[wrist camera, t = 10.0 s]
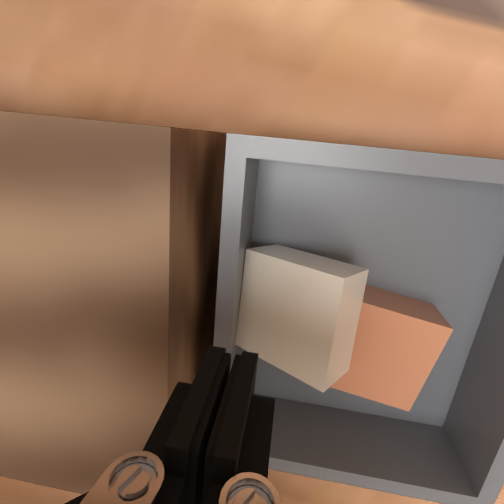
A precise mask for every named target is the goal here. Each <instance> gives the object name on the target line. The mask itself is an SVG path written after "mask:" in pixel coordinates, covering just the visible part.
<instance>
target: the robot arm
mask: <svg viewBox="0 0 504 504" xmlns="http://www.w3.org/2000/svg"><path fill="white" fill-rule="evenodd" d="M257 363H258V353H253V352H247V351H242V354H241V355H238V354H236V355H235V358H234V361H233V364H232V367H231V371H230V364H231V353H226V348H222V347H216V346H209V348H208V350H207V352H206V354H205V356H204V359H203V361H202V363H201V365H200V368H199V370H198V372H197V374H196V376H195V379H194V381H193V383H192V384H190V383H184V382H178V383H177V385H176V386H175V388H174V390H173V392H172V394H171V396H170V398H169V400H168V402H167V404H166V405H165V407H164V409H163V411H162V413H161V415H160V417H159V419H158V421H157V423H156V425H155V427H154V429H153V431H152V433H151V435H150V437H149V439H148V440H147V442H146V444H145V446H144V448H143V450H141V451H132V452H129V453H126V454H124V455H122V456H120V457H119V458H117V459H116V460H114V461H113V462H112V463H111V464H110V466H109V467H108V468H107V469H106V470H105V471H104V473H103V474H102V475H101V477H100V478H99V479H98V481H97V482H96V483H95V484H94V486H93V487H92V488H91V490H90V491H89V492H87V493H85V494H83V495H81V496H79V497H77V498H75V499H73V500H71V501H69V502H67V503H65V504H281V501H280V496H279V493H278V491H277V490H276V488H275V486H274V485H273V484H272V483H271V482H270V481H269V480H268V479H267V477H268V467H269V457H270V447H271V437H272V427H273V417H274V408H275V398H269V397H263V396H258V395H254V389H255V380H256V372H257Z"/></svg>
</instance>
